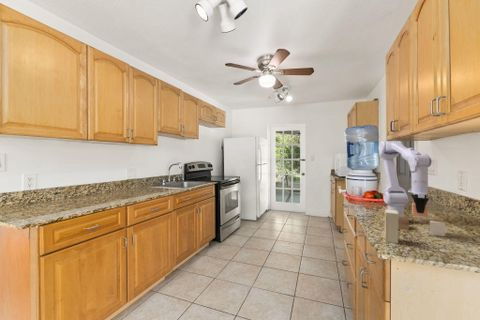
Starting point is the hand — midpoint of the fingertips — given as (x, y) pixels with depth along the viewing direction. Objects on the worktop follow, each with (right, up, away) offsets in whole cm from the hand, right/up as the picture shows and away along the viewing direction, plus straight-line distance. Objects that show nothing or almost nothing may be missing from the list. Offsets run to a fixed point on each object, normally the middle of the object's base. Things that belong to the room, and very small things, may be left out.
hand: (419, 211), depth 97 cm
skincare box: (-18, -10, -8) cm, 22 cm away
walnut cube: (-2, -10, +9) cm, 13 cm away
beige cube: (+8, -10, 0) cm, 13 cm away
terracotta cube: (0, -2, 0) cm, 2 cm away
